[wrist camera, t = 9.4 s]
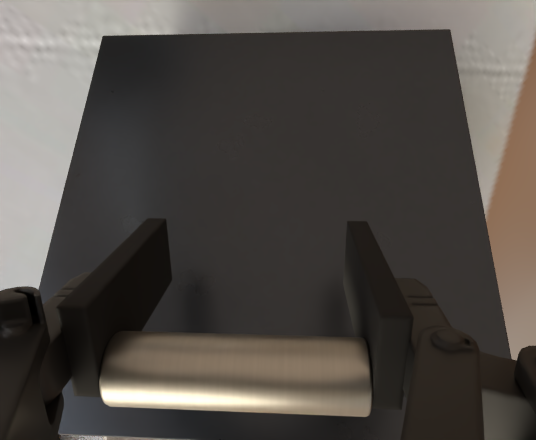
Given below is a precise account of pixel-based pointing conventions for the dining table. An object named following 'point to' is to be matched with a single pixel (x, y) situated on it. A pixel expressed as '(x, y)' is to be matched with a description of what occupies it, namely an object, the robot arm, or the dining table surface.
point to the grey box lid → (270, 224)
